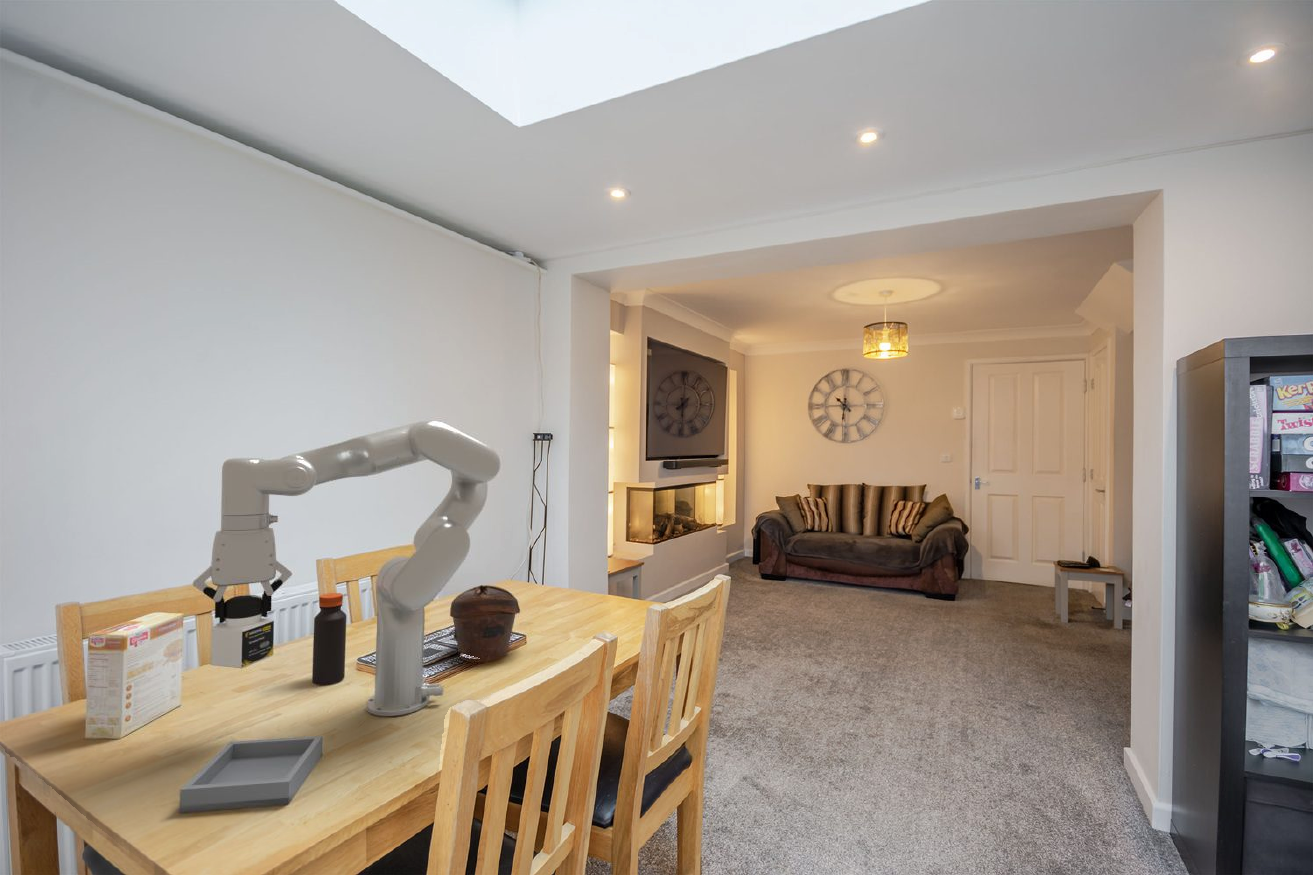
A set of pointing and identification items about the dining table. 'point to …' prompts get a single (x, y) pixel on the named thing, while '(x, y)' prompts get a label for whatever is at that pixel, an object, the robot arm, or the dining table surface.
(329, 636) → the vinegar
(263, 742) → the grey tray
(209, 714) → the dining table surface
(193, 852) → the dining table surface
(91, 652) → the coffeecake box
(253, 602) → the medicine bottle
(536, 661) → the dining table surface
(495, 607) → the brown lidded pot
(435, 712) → the dining table surface
